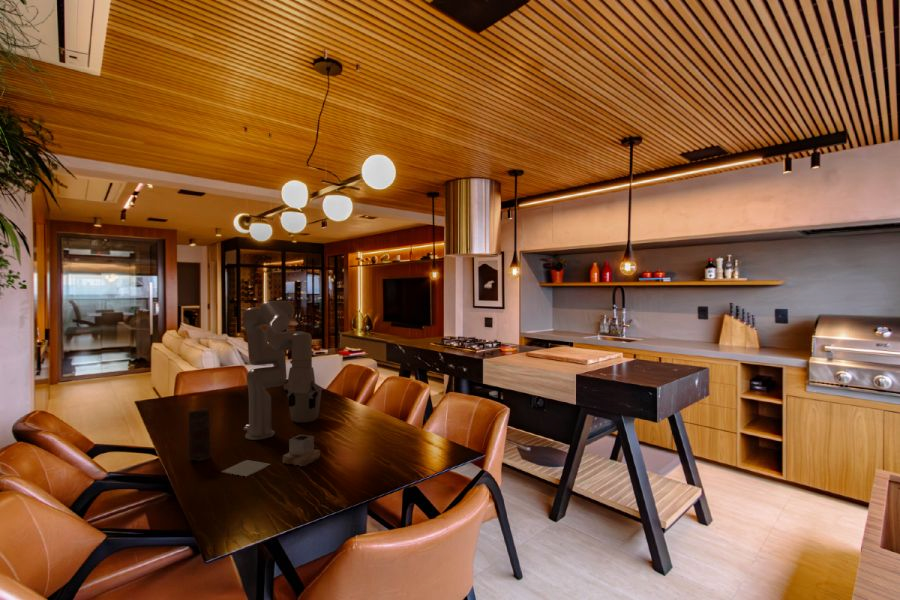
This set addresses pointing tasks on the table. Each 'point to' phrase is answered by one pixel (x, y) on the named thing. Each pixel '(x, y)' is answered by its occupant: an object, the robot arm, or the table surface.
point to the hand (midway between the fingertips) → (302, 407)
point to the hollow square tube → (301, 445)
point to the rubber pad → (246, 468)
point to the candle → (199, 435)
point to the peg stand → (301, 458)
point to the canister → (304, 408)
